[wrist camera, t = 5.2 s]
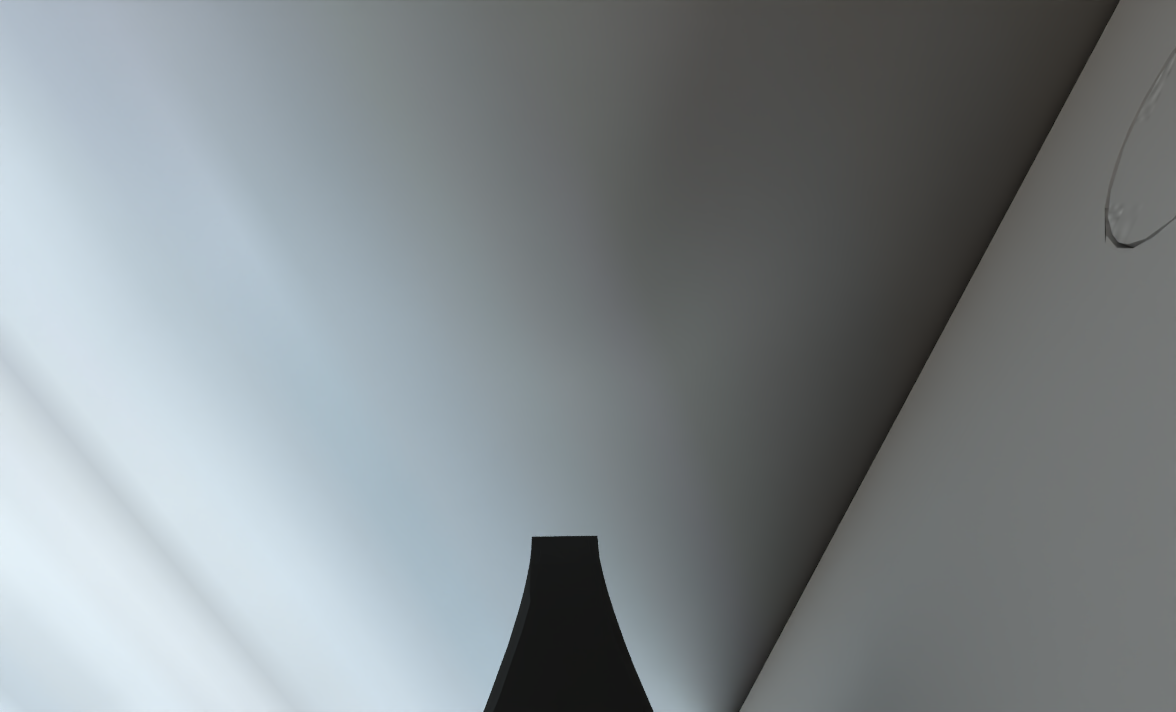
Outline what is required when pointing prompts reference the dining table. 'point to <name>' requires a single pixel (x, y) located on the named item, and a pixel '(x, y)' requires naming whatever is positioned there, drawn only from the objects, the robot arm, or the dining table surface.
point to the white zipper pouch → (1028, 447)
